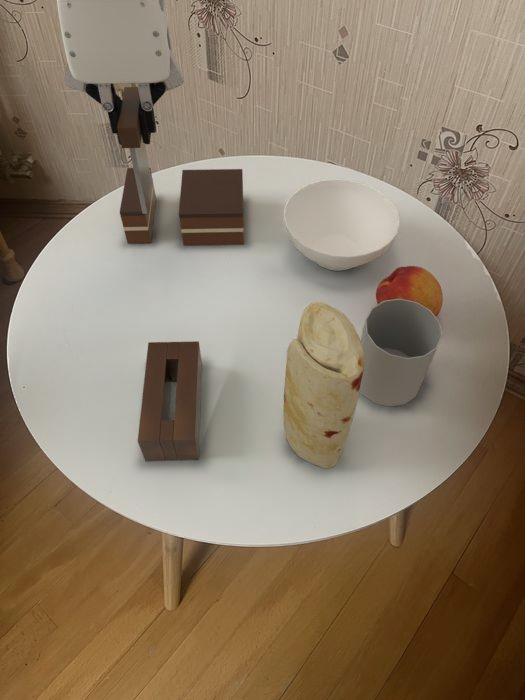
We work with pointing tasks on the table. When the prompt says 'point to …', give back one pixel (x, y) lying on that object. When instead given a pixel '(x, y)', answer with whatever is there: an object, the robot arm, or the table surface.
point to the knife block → (155, 427)
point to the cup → (397, 350)
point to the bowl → (341, 223)
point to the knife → (135, 143)
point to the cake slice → (136, 211)
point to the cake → (212, 207)
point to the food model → (322, 384)
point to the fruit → (412, 288)
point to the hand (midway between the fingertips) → (135, 136)
